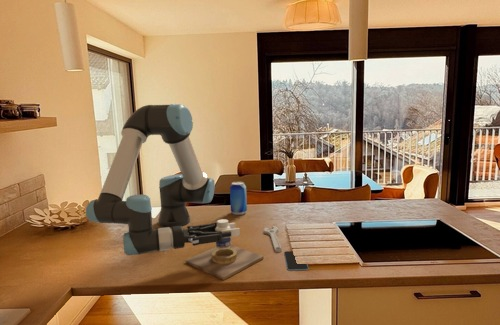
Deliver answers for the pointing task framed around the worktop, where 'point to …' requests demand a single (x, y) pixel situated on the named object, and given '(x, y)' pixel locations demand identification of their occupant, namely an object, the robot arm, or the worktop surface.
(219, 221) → the pill bottle
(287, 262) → the smartphone
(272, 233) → the adjustable wrench
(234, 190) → the beer can
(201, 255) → the socket plate
